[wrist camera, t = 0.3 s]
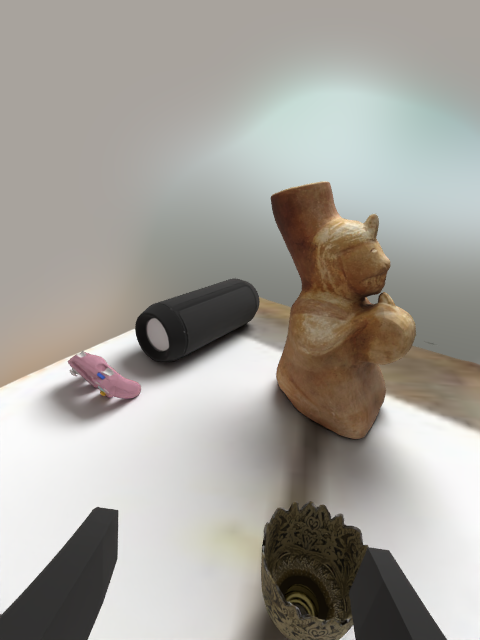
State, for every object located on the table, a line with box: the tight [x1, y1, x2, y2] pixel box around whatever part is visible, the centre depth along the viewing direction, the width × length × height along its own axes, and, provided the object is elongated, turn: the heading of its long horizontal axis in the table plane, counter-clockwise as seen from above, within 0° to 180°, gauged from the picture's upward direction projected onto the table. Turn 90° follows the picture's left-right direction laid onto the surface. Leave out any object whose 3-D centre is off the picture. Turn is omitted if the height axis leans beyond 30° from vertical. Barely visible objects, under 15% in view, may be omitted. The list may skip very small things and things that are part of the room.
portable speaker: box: [135, 279, 259, 361], centre depth 62 cm, size 26×10×10 cm, turn 145°
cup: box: [261, 501, 368, 640], centre depth 24 cm, size 8×7×8 cm
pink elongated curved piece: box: [68, 351, 141, 399], centre depth 46 cm, size 10×5×7 cm, turn 54°
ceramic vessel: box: [271, 182, 416, 439], centre depth 45 cm, size 16×22×30 cm
